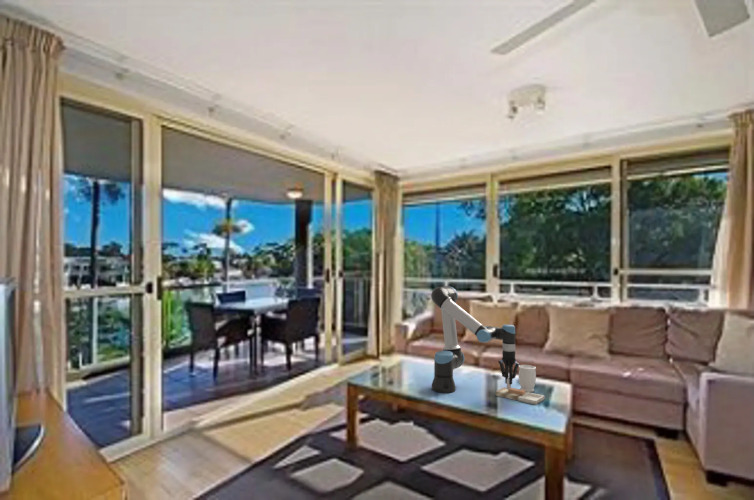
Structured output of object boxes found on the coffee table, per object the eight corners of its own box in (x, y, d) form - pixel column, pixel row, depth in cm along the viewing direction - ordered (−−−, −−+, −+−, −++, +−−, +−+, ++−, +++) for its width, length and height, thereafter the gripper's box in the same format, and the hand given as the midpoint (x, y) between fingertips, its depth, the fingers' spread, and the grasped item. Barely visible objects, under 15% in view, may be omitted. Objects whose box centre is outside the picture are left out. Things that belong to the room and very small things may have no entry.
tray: (518, 401, 258) (518, 397, 258) (527, 395, 268) (527, 392, 269) (535, 404, 251) (535, 401, 251) (544, 399, 262) (544, 395, 262)
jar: (514, 388, 283) (515, 365, 283) (527, 387, 287) (527, 364, 287) (526, 393, 273) (526, 369, 273) (539, 391, 277) (539, 367, 277)
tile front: (515, 393, 264) (515, 390, 264) (518, 392, 267) (518, 389, 267) (522, 395, 261) (522, 392, 261) (525, 393, 264) (525, 390, 264)
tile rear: (508, 392, 267) (508, 389, 267) (511, 390, 270) (511, 387, 270) (515, 393, 264) (515, 390, 264) (518, 392, 267) (518, 389, 267)
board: (495, 395, 268) (495, 391, 268) (504, 391, 277) (504, 387, 277) (517, 400, 259) (517, 396, 259) (525, 395, 268) (525, 391, 268)
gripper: (496, 349, 271) (496, 388, 270) (516, 352, 263) (516, 392, 262) (501, 348, 277) (501, 386, 276) (521, 350, 268) (521, 390, 268)
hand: (508, 389), depth 269 cm, fingers closed
